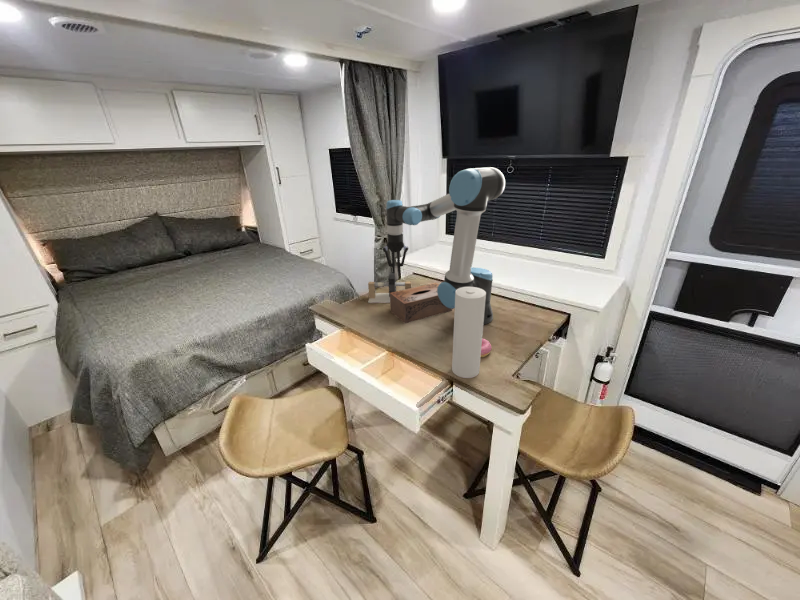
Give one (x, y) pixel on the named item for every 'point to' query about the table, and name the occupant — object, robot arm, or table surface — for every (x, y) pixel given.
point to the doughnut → (485, 347)
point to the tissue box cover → (417, 303)
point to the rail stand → (383, 296)
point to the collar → (392, 283)
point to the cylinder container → (468, 331)
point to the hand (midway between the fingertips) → (396, 278)
